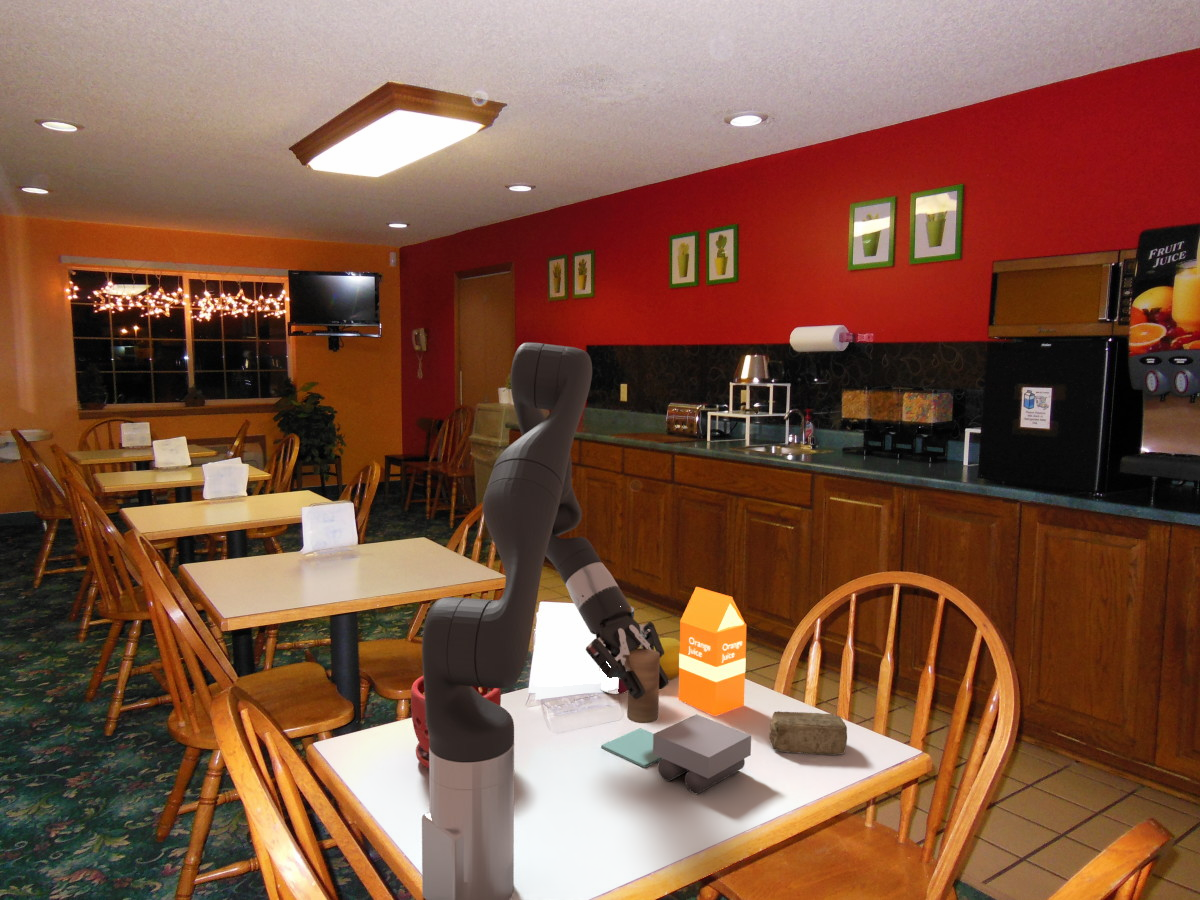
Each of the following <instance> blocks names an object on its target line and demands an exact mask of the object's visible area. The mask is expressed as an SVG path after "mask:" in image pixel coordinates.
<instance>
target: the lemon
mask: <svg viewBox="0 0 1200 900" xmlns="http://www.w3.org/2000/svg"><path fill="white" fill-rule="evenodd" d="M659 640H660V642H661V645H662V647H663V650H664V654H663V655H662V656H661V657H660V663H659V664H660V665H661V667H662V669H663V670H664V672H665V674H666V675H667V677H668V681H672V680H674V679H676V678H679V653H680V640H678V639H677V638H674V637H673V638H672V637H659ZM654 650H655V647H654ZM655 651H656V650H655Z"/></svg>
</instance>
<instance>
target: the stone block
mask: <svg viewBox="0 0 1200 900" xmlns="http://www.w3.org/2000/svg"><path fill="white" fill-rule="evenodd" d="M771 718H772V719H771V723H770V732H769V743H770V745H771V748H772V749H773V750H776V751H779V752H782V753H790V754H806V755H807V754H808V755H809V754H812V755H813V754H814V755H842V754H844V753H845V751H846V747H847V741H848V732H847V731H848V730H847V729H848V727H847V725H846V723H845V722H844V721H843V718H841V716H840V715H837V714H834V713H821V712H805V711H804V712H801V711H800V712H797V711H794V712H793V711H779V710H778V711H774V712H773V714H772V717H771Z"/></svg>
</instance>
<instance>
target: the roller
mask: <svg viewBox="0 0 1200 900" xmlns="http://www.w3.org/2000/svg"><path fill="white" fill-rule="evenodd" d="M629 653H630V655H629V661H630V664H631V668H632V670H631V671H634V672H635V674H636V675H637V677H638V679H639V681H640V682H641V684H642V686H643V687H644V689H645V694H644V695H643V696H642V697H640V698H638V699H634V697H632V696H631V695H630V693H629V692H628V691H627V703H626V704H627V707H626V710H627V713H626V715H627V716H626V718H627V719H628V720H629V721H631V722H634V723H636V724H650V723H654V722H656V721H658V719H659V710H660V709H659V703H660V702H659V701H660V700H659V699H660V698H659V697H660V690H659V663H660V654H659V652H657V651H655V650H652V649H641V648H638V649H634V650H631V651H629Z"/></svg>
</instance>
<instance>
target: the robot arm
mask: <svg viewBox="0 0 1200 900" xmlns="http://www.w3.org/2000/svg"><path fill="white" fill-rule="evenodd" d="M511 363H512V364H511V367H510V390H511V399H512V403H513V407H514V411H515V415H516V419H517V424H518V427H519V428H518V429H519V430H520V435H521V436H520V437H519V438H517V440H515V441H514V442H513V443H511V444H509V446H508V447H507V448H505V449H504V450H503V451H502V452H501V453H500V455H499V457H497V459H496V461H495V462H494V465H493V468H492V470H491V474H490V477H489V480H488V483H487V486H486V489H485V492H484V495H483V499H482V515H483V519H484V522H485V526H486V528H487V530H488V533H489V535H490V537H491V540H492V542H493V543H494V545H495V548H496V550H497V552H498V555H499V557H500V561H501V563H502V567H503V570H504V574H505V584H504V589H503V593H502V596H501V597H500V598H499V599H498V600H497V599H485V598H470V597H469V598H467V597H442V598H440V599H438V600H436V601H435V602H434V603H433V604H432V605H431V607H430V609H429V610H428V612H427V615H426V618H425V621H424V624H423V631H422V642H421V657H422V659H421V661H422V674H423V675H422V676H423V677H424V696H425V715H426V725H427V729H428V733H429V768H428V769H429V772H428V773H429V776H428V777H429V782H428V783H429V784H428V785H429V794H428V795H429V811H428V812H426V813H424V814H423V815H422V817H421V861H422V862H421V864H422V865H421V866H422V868H421V870H422V871H421V873H422V874H421V876H422V877H421V878H422V880H421V881H422V883H421V885H422V890H421V891H422V892H421V893H422V895H421V896H422V897H423V898H424V899H425V900H510V899H511V898H512V896H513V893H514V889H515V887H514V885H515V884H514V883H515V882H514V879H515V878H514V875H515V874H514V871H515V869H514V866H515V865H514V864H515V863H514V859H515V858H514V857H515V853H514V851H515V850H514V849H515V848H514V846H515V845H514V843H515V838H514V837H515V835H514V833H515V827H514V826H515V824H514V822H515V820H514V819H515V816H514V815H515V812H514V811H515V810H514V809H515V724H514V718H513V716H512V715H511V713H510V712H509V711H508V710H507V709H506V708H504V707H502V706H501V705H500V706H499V705H497V704H495V703H493V702H491V701H489V700H488V699H486V698H484V697H483V696H482V695H480V694H479V693H478V692H477V691H476V690H475V689H474V688H473V687H472V686H474V687H478V688H481V687H485V688H501V689H509V688H511V687H513V686H515V684H517V683H518V680H519V679H520V678H521V676H522V674H523V671H524V668H525V664H526V662H527V658H528V654H529V649H530V643H531V637H532V632H533V626H534V619H535V614H536V607H537V602H538V601H537V600H538V595H539V590H540V583H541V579H542V578H541V576H542V573H543V572H542V571H543V567H544V562H545V558H547V559H548V560H549V561H550V563H552V565H553V566H554V567H555V569H556V571H557V572H558V574H559V576H560V578H561V579H562V581H563V583H564V586H565V587H566V588H567V591H568V594H569V596H570V598H571V600H572V602H573V604H574V606H575V607H576V609H577V611H578V612H579V614H580V616H581V618H582V620H583V621H584V623H585V625H586V627H587V628H588V631H589V632H590V633H591V634H592V635H595V638H594V639H593V640H592V641H591V642H590V643H589V644H588V645H587V646H586V648H585V651H586V653H587V654H588V655H589V656H590V658H592V660H593V661H594V662H595V663H596V664H597V666H598V667H599V669H600V668H601V669H602V671H603V672H604V673H605V674H606V675H607V677H609V678H612V677H618V678H619V679H622V681H623V683H624V685H625V686H626V688H627V693H628V692H629V693H630V695H631V696H632V697H634V699H638V698H640V697H642V696H643V695H644V694H645V689H644V687H643V686H642V684H641V682H640V681H639V679H638V677H637V675H636V674H635V672H634V671H631V670H632V668H631V664H630V661H629V655H630V653H629V651H631V650H634V649H652V650H654V647H655V650H656V651H657V652H659V654H660V657H661V656H662V655H663V654H664V650H663V647H662V645H661V642H660V640H659V638H660V637H659V634H658V632H657V629H656V627H655V625H654V623H653V622H652V621H648V622H647V623H646V624H639V623H638V622H637V620H635V619H633V618H632V615H631V607H632V606H631V605H630V603H629V602H628V600H627V598H626V596H625V594H623V592H622V590H621V588H620V586H619V585H618V583H617V582H616V580H615V579H614V576H613V575H612V574H611V572H610V571H609V570H608V568H607V567H606V565H604V563H603V561H602V560H601V558H600V557H599V555H598V553H597V552H596V550H595V548H594V546H593V545H592V544H591V542H590V540H589V539H588V538H586V537H583V536H574V537H570V538H561V537H559V536H560V535H563V534H565V533H568V532H570V531H572V530H574V529H575V528H577V527H578V526H579V524H580V523H581V520H582V517H583V512H582V508H581V506H580V503H579V501H578V499H577V497H576V494H575V491H574V489H573V484H572V472H573V471H572V467H573V466H572V465H573V464H572V463H573V462H572V458H571V457H572V456H571V451H572V447H573V442H574V439H575V435H576V432H577V429H578V426H579V424H580V421H581V418H582V414H583V411H584V409H585V406H586V403H587V399H588V396H589V392H590V389H591V384H592V383H591V382H592V377H593V363H592V359H591V356H590V354H589V353H588V352H586V351H585V350H583V349H581V348H577V347H574V346H564V345H557V344H556V345H555V344H548V343H540V342H523V343H522V344H521V345H519V346H518V348H517V350H516V351H515V353H514V357H513V358H512V362H511ZM543 410H547V411H550V412H549V413H548V415H547V416H545V414H544V413H543ZM620 606H621V607H620ZM630 606H631V607H630ZM606 661H607V662H608V663H609V665H610V666H611V668H610V667H609V666H608V664H607V663H606ZM669 682H670V681H669V680H668V677H667V675H666V674H665V672H664V670H663V669H662V667H661V665H660V664H659V691H660V690H663V689H665V688H666V686H669Z"/></svg>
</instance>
